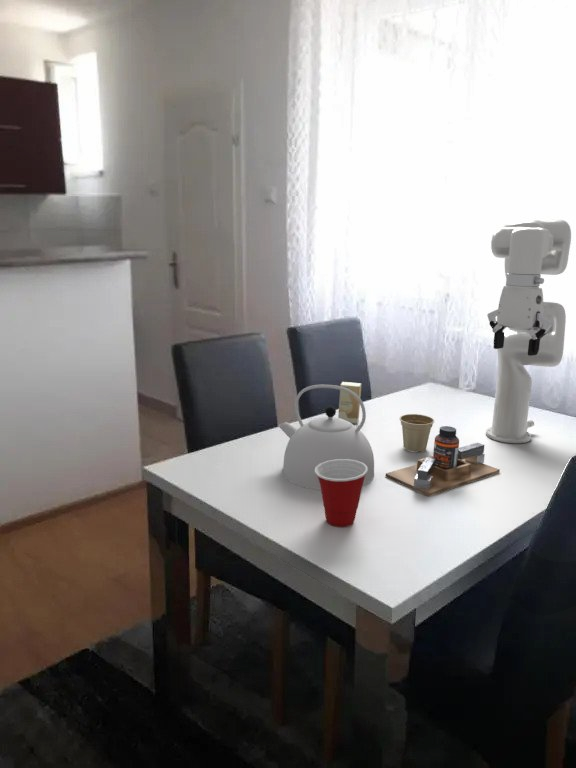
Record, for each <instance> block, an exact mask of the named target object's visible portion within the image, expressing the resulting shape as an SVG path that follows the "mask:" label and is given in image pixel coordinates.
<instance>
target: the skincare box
mask: <svg viewBox="0 0 576 768" xmlns="http://www.w3.org/2000/svg"><path fill="white" fill-rule="evenodd" d="M339 386H341V387H344V388H347V389H349V390H351V391H353V392H354V393H355V394H356V395H357V396H358V397H359V398H360V399H361V395H362V394H361V393H362V383H360V382H359V383H358V382H350V381H349V382H348V381H341V383H340V385H339ZM360 408H361V405H360V403H359V402H358V400H357V399H356V398H355V397H354V396H352V395H351V394H349V393H348V392H345V391H343V390H339V401H338V415H337V418H341V419H344V420H346V421H348V422H350V423H351V424H353V425H354V424H357V425H358V423H359V420H360V410H361V409H360Z"/></svg>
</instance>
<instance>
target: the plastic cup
mask: <svg viewBox="0 0 576 768" xmlns="http://www.w3.org/2000/svg"><path fill="white" fill-rule="evenodd" d="M367 471H368V469H367V466H366V465H365V464H364V463H362V462H359V461H356V460H349V459H336V460H330V461H326V462H323V463H320V464H319V465H318V466H316V467H315V473H316V475H317V476H318V479H319V482H320V486H321V490H320V491H321V498H322V504H323V507H324V508H323V509H324V516H325V520H326V522H327V524H328V525H331V526H332V527H337V528H346V527H350V526H352V525H353V524H354V522H355V520H356V516H357V511H358V507H359V503H360V499H361V493H362V489H363V487H362V485H363V482H364V478H365V475H366V473H367Z"/></svg>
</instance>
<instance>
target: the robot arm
mask: <svg viewBox="0 0 576 768" xmlns="http://www.w3.org/2000/svg"><path fill="white" fill-rule="evenodd" d="M571 242H572V230H571V226H570V224H569V223H568V222H567V221H566V220H563V219H528V220H526V221H523V222H519V223H513V224H504V225H499V226H497V228H495V230H494V231H493V234H492V236H491V242H490V246H491V247H490V248H491V249H490V250H491V253H492V254H493V256H494V257H496V258H498V259H499V258H501V259H504V274H505V278H506V279H505V285H504V286H503V288H502V290H501V294H500V296H499V297H500V298H499V301H498V308H497V309H494V310H493V311H491V312H488V313H487V319H488V321H489V323H488V324H489V326H490V327H491V329H492V333H494V334H493V336H494V337H493V349H494V350H496V351H497V352H496V353H497V377H496V384H495V385H496V386H495V395H494V403H493V405H494V406H493V416H492V423H491V424H492V426H491V427H489V428H486V431H485V434H486V436H487V437H488V438H489V439H492V440H494V441H497V442H501V443H508V444H523V443H528V442H530V441H531V440H532V435H531V433H530V432H529V431H528V429H529V428H532V427H534V426H535V421H533V420H528V418H529V417H528V416H529V408H530V399H531V391H532V385H533V384H532V383H533V382H532V377H531V375H530V373H529V372H528V370H527V369H526V367H525V366H536V367H538V366H539V367H546V368H551V367H552V368H553V367H556V366H558V365H559V364H560V363H561V362H562V360H563V355H564V347H565V337H566V336H565V333H566V318H567V316H566V314H567V313H566V310H565V308H564V306H563V305H562V304H561V303H558V302H554V301H553V302H551V301H544V294H543V293H544V292H543V288H542V287H540V285H543V284H544V282H545V278H543V277H541V275H546V276H547V275H550V276H555V275H561V274H563V273H564V272H565V270H566V268H567V267H568V263H569V255H570V248H571V244H572V243H571ZM505 329H509V330H507V331H505Z"/></svg>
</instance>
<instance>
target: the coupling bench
mask: <svg viewBox="0 0 576 768" xmlns="http://www.w3.org/2000/svg"><path fill="white" fill-rule="evenodd" d="M426 457H427V458H433V455H430V456H426ZM426 457H423V458H420V459H417V461H416V464H414V465H409V466H407V467H403V468H400V469H396V470H392V471H390V472H386V473H385V478H388V479H390V480H392V481H395V482H396V483H399V484H400V485H403V486H405V487H407V488H409V489H411V490H414V491H416V492H418V493H420V494H422V495H425V496H427V497H432V496H435V495H437V494H441V493H443V492H446V491H449V490H452V489H455V488H458V487H461V486H464V485H468V484H470V483H473V482H475V481H478V480H482V479H485V478H488V477H490V476H494V475H496V474H499V473H500V471H501V470H500V469H498V468H497V467H494V466H491V465H488V464H485V463H482V464H479V465H474V464H472V463H469V462H467V461H465V459H462V460H460V459H458V460H457V467H455V468H451V469H448V470H444V469H442V468H439V467H437V466H435V468H434V470H433V471H432V473H431V474H430V476H433V477H432V487H431V488H430V490H429V491H428V490H422V489H417V488H414V478H415V476H416V475H417V474H418V469H419V468H420V466H421V465H422V463H423V462H424V460H425V459H426Z"/></svg>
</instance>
